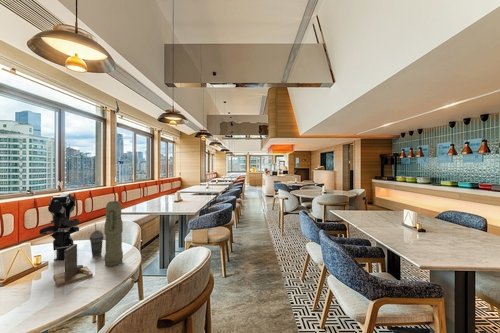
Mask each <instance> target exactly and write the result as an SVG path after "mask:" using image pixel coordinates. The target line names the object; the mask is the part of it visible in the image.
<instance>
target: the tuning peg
mask: <svg viewBox="0 0 500 333" xmlns="http://www.w3.org/2000/svg"><path fill="white" fill-rule="evenodd" d="M63 261H64V263H63V264H64V272H65V281H68V280H69V279H70V278H71V277H72V276H74V275H75V274H76V273H77V272H80V271H81V272H85V273H90V271H91V270H90V269H89V270H87V269H83V267H84V264H79V265H78V244H77V243H75V244H74V245H72V246H71V247H69V248H68V249H66V250H64V260H63Z"/></svg>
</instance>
